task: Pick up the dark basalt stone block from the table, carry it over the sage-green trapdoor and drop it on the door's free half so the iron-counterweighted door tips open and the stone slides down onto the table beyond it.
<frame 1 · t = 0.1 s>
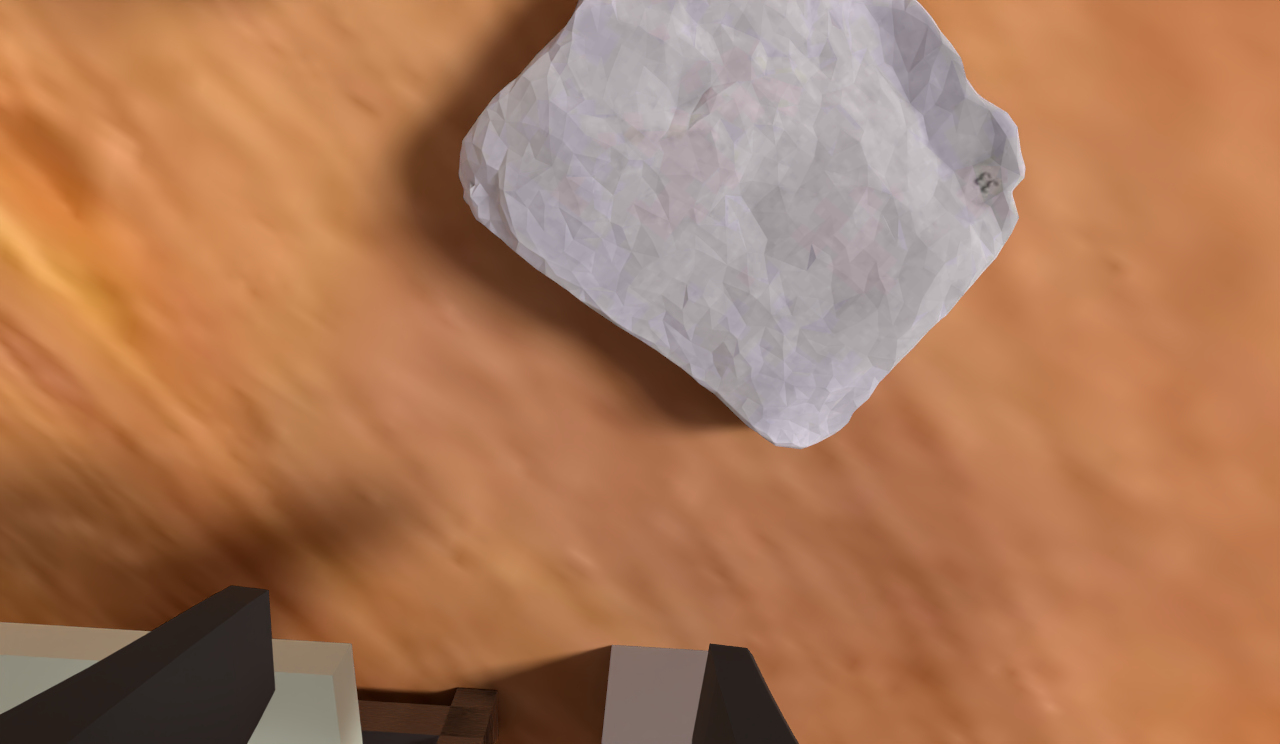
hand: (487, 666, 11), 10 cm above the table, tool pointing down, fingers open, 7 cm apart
stone: (673, 699, 24), on the table
stone block: (747, 163, 19), on the table
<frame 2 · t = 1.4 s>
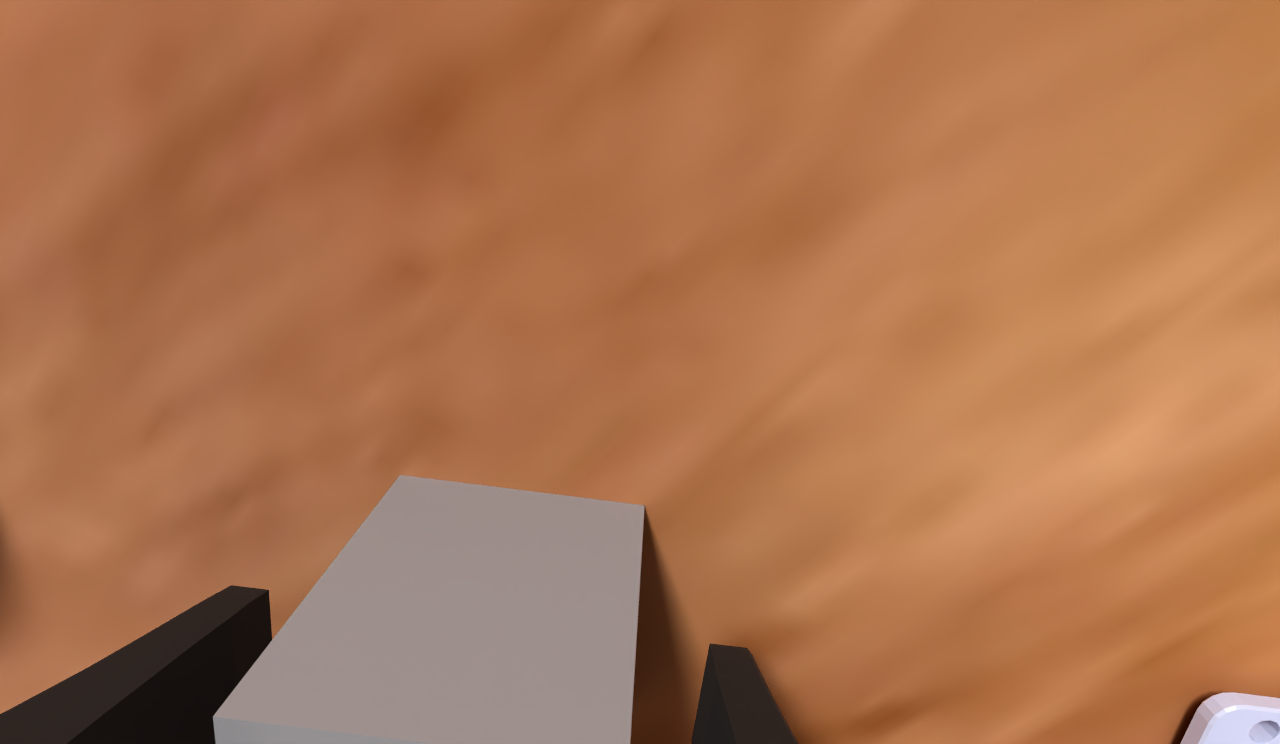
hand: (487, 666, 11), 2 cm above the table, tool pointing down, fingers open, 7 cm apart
stone: (515, 591, 13), on the table
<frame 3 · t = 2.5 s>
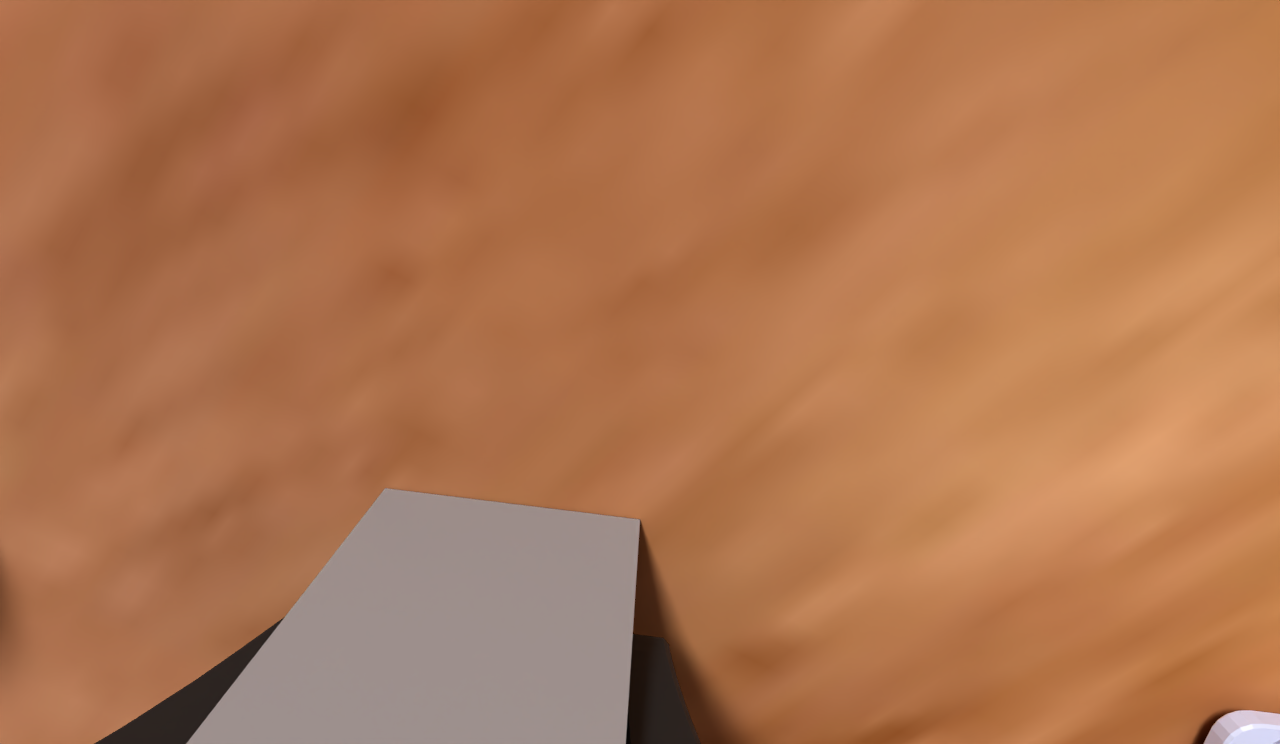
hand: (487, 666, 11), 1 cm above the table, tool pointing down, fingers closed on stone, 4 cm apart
stone: (505, 609, 13), on the table, touching gripper
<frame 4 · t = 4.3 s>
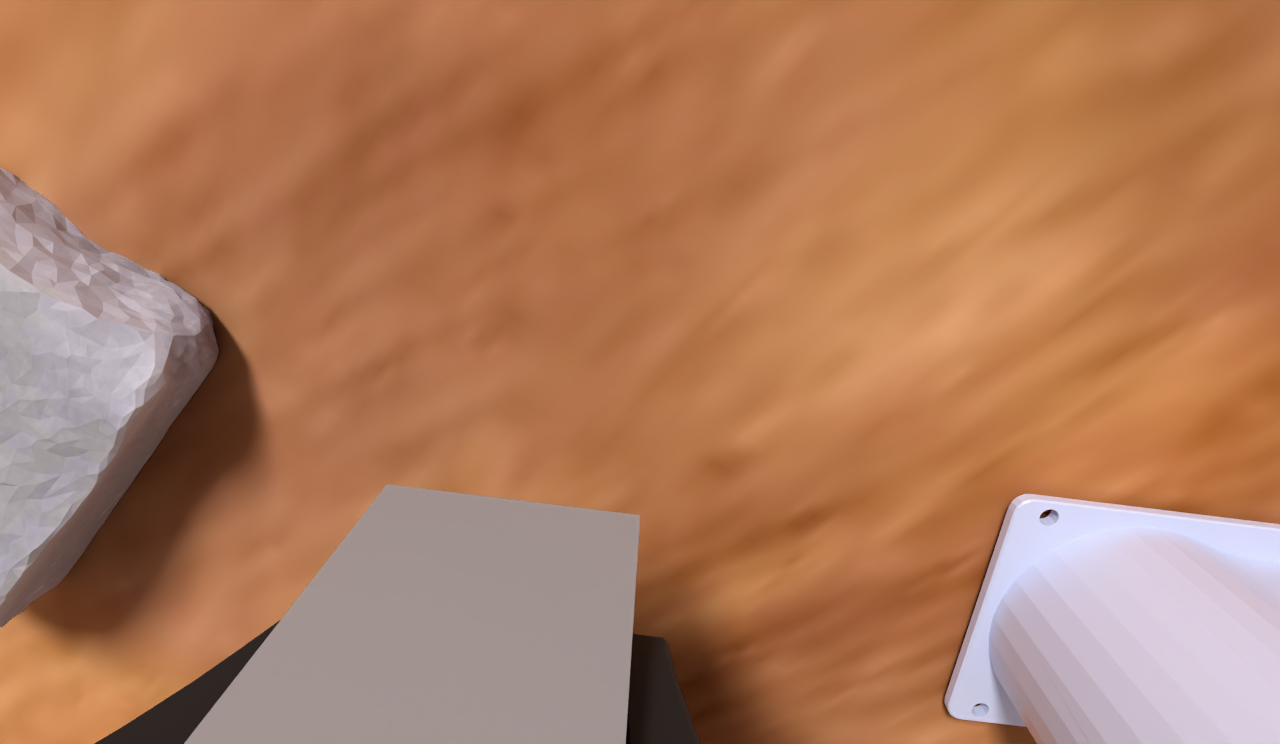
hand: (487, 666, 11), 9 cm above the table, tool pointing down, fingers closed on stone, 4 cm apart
stone: (506, 605, 13), point 8 cm above the table, touching gripper
stone block: (10, 364, 20), on the table
when the fingers open (10 cm above the table, at t = 6.2 s): stone stays where it is, point 9 cm above the table.
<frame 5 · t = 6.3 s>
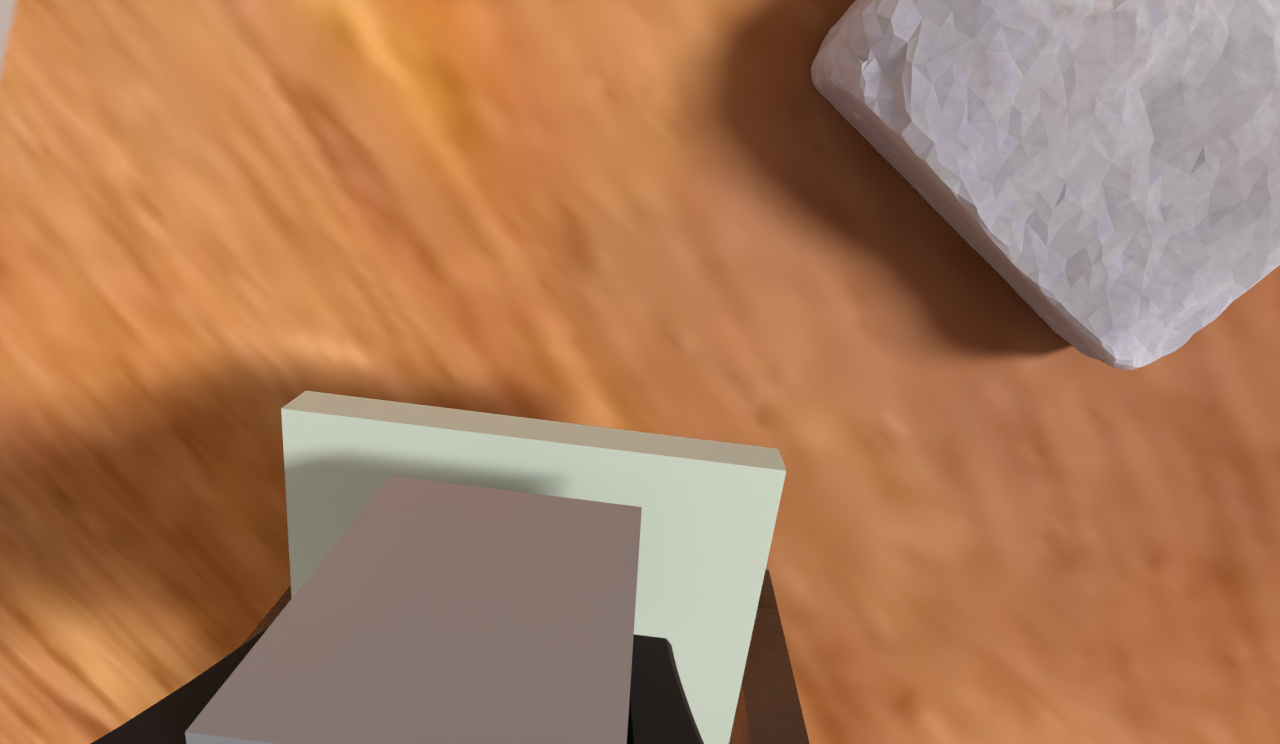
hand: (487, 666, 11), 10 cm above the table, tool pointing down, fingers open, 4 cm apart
stone: (508, 596, 13), point 9 cm above the table
frame: (535, 650, 19), on the table
stone block: (1077, 76, 18), on the table
trapdoor: (518, 685, 16), point 7 cm above the table, hinge at 0.0°
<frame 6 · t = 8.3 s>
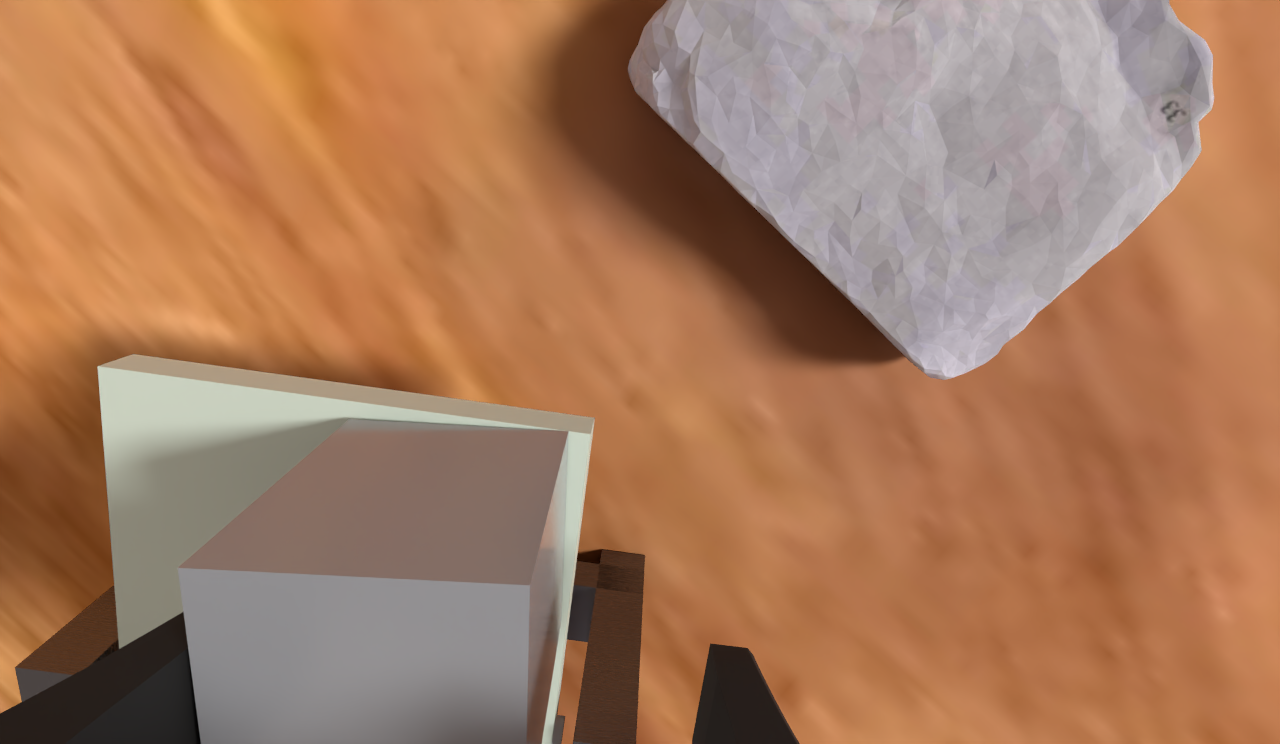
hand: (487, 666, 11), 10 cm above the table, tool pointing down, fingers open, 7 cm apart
stone: (460, 523, 15), point 7 cm above the table
frame: (389, 630, 19), on the table
stone block: (904, 88, 18), on the table
trapdoor: (347, 659, 16), point 6 cm above the table, hinge at -3.7°
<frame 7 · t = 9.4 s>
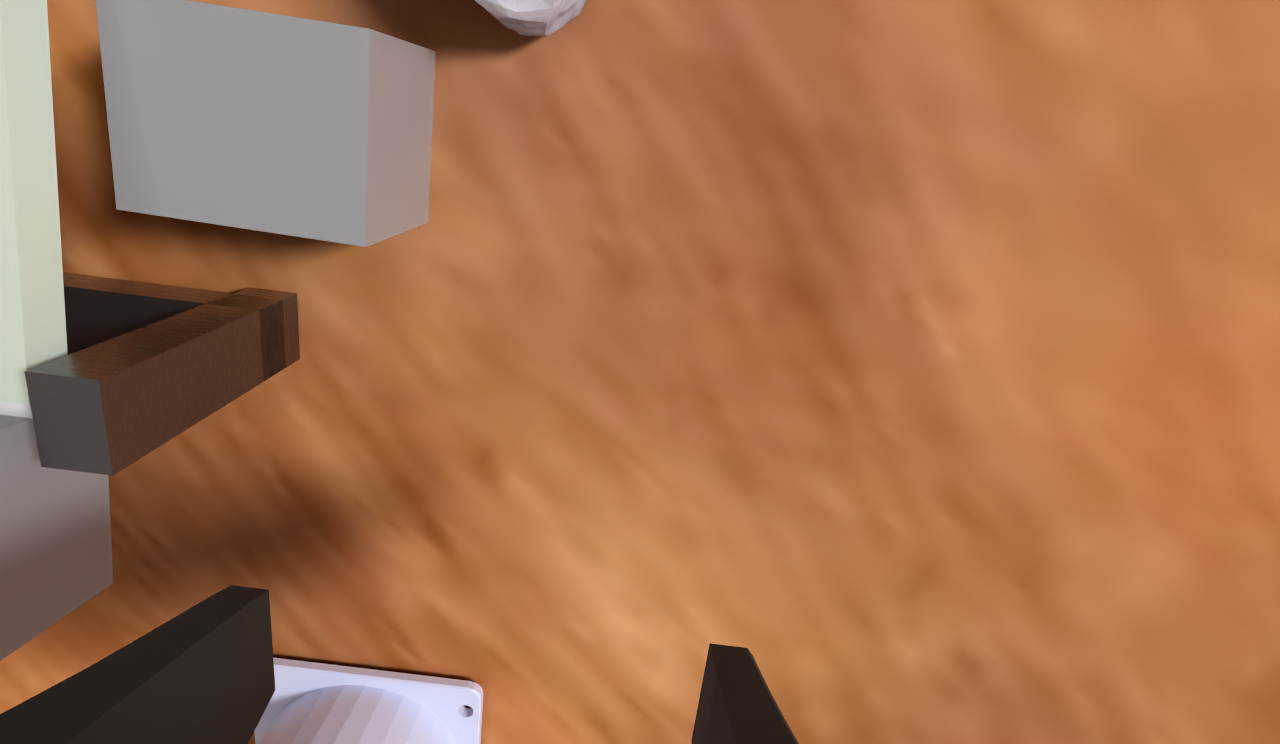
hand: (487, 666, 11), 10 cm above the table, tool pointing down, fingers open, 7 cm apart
stone: (175, 106, 17), point 2 cm above the table, tilted 90°
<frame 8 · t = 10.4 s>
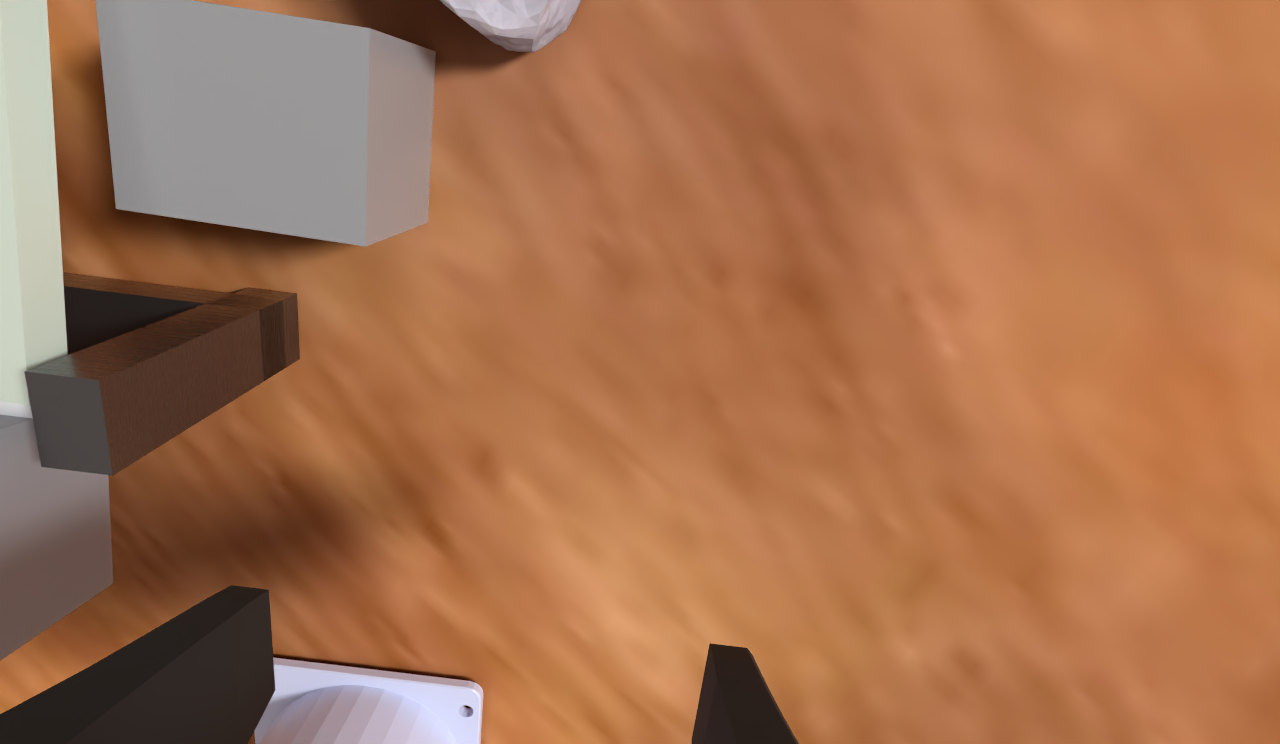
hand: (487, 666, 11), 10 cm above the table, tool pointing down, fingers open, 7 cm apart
stone: (175, 106, 17), point 2 cm above the table, tilted 90°
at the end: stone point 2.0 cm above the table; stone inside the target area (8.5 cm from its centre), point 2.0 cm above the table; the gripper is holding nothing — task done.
